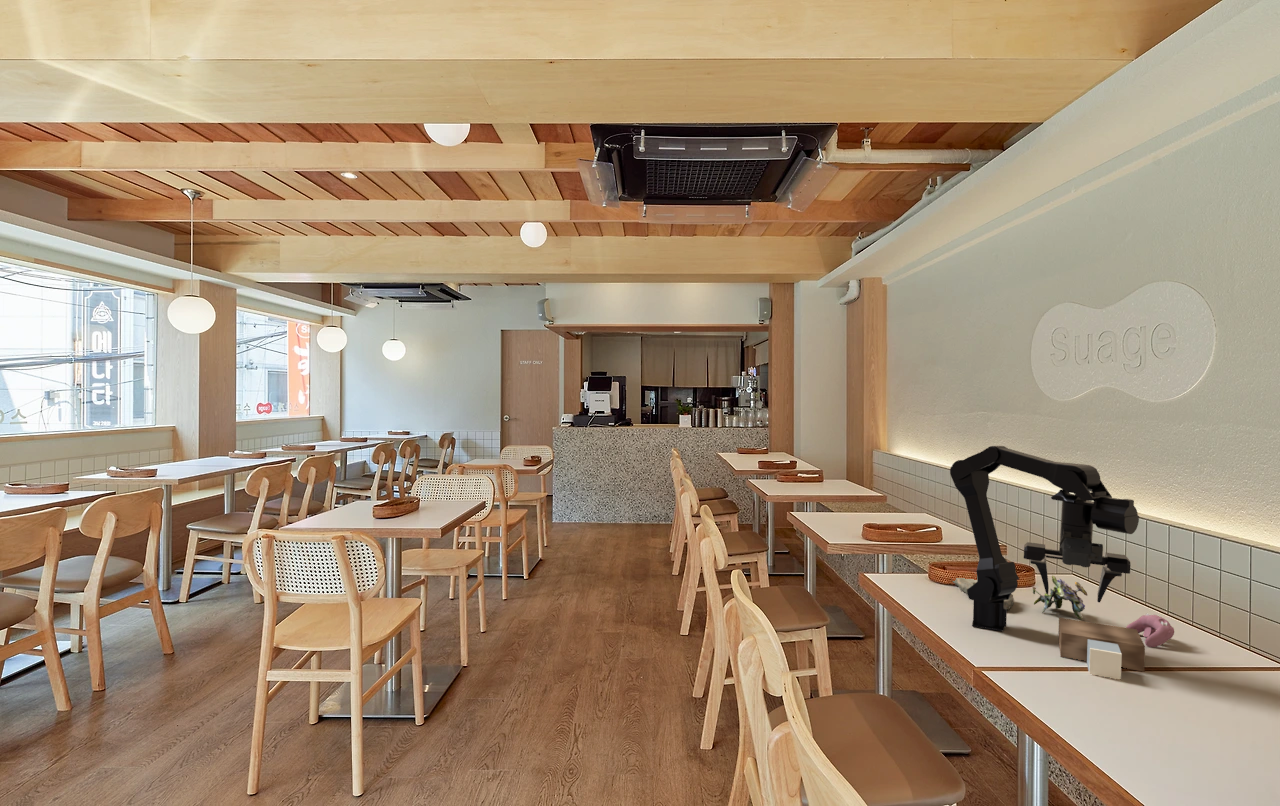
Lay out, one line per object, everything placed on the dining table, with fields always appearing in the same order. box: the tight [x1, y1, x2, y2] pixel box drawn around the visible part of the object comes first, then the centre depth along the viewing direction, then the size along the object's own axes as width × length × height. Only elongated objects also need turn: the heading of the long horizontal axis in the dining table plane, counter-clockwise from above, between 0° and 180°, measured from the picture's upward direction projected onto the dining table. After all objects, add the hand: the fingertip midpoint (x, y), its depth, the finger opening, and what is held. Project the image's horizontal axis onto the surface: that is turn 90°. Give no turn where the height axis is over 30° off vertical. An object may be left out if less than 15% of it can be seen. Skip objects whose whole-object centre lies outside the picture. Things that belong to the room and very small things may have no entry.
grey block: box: [1086, 639, 1122, 680], centre depth 133 cm, size 5×5×6 cm
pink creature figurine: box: [1125, 612, 1175, 648], centre depth 152 cm, size 10×5×7 cm, turn 169°
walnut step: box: [1057, 617, 1146, 673], centre depth 142 cm, size 14×12×5 cm
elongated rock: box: [952, 578, 1015, 610], centre depth 188 cm, size 35×5×10 cm
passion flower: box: [1032, 575, 1088, 620], centre depth 170 cm, size 11×11×12 cm
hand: (1072, 597), depth 144 cm, fingers open, 9 cm apart
